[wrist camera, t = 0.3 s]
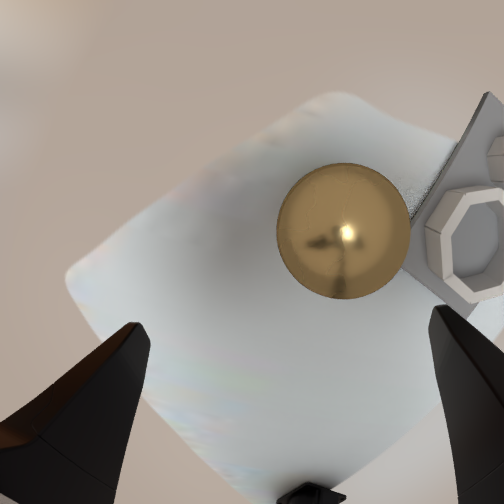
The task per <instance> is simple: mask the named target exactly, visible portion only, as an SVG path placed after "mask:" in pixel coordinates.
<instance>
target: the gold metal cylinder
mask: <svg viewBox="0 0 504 504" xmlns="http://www.w3.org/2000/svg"><path fill="white" fill-rule="evenodd" d="M276 229H277V243H278V248H279V252H280V255H281V257H282V259H283V262H284V264H285V265H286V267H287V269H288V270H289V272H290V273H291V274H292V275H293V277H294V278H295V279H296V280H297V281H298V282H299V283H301V284H302V285H303V286H305V287H306V288H308V289H309V290H311V291H313V292H315V293H317V294H320V295H322V296H325V297H329V298H334V299H354V298H359V297H363V296H366V295H368V294H371V293H373V292H375V291H377V290H378V289H380V288H381V287H383V286H384V285H386V284H387V283H388V282H389V281H390V280H391V279H392V278H393V277H394V276H395V274H396V273H397V272H398V270H399V269H400V267H401V266H402V264H403V262H404V260H405V258H406V255H407V252H408V249H409V244H410V235H411V227H410V218H409V213H408V210H407V207H406V204H405V202H404V200H403V198H402V196H401V195H400V193H399V192H398V190H397V189H396V187H395V186H394V185H393V184H392V183H391V182H390V181H389V180H388V179H387V178H385V177H384V176H383V175H381V174H380V173H378V172H377V171H375V170H373V169H370V168H368V167H365V166H362V165H358V164H352V163H337V164H330V165H326V166H323V167H320V168H318V169H315V170H314V171H312V172H310V173H308V174H307V175H305V176H304V177H303V178H301V179H300V180H299V181H298V182H297V183H296V184H295V185H294V186H293V187H292V189H291V190H290V191H289V193H288V194H287V196H286V198H285V199H284V201H283V203H282V206H281V208H280V211H279V215H278V219H277V228H276Z"/></svg>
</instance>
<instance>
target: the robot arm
mask: <svg viewBox="0 0 504 504" xmlns="http://www.w3.org/2000/svg"><path fill="white" fill-rule="evenodd" d="M428 332H429V338H430V343H431V349H432V355H433V362H434V368H435V374H436V379H437V384H438V388H439V392H440V396H441V400H442V404H443V409H444V413H445V418H446V422H447V428H448V433H449V438H450V444H451V449H452V455H453V461H454V469H455V476H456V484H457V493H458V504H504V353H503V352H502V351H501V350H500V349H499V348H498V347H497V346H495V345H494V344H493V343H492V342H491V341H490V340H489V339H488V338H486V337H485V336H484V335H483V334H482V333H481V332H479V331H478V330H477V329H476V328H475V327H474V326H472V325H471V324H470V323H469V322H468V321H467V320H465V319H464V318H463V317H462V316H461V315H459V314H458V313H457V312H456V311H455V310H453V309H452V308H451V307H450V306H448V305H446V304H444V305H437V306H435V307H434V308H433V311H432V315H431V319H430V323H429V327H428ZM150 346H151V343H150V339H149V337H148V335H147V333H146V331H145V329H144V328H143V326H142V324H141V323H139V322H129V323H127V324H126V325H125V326H123V327H122V328H121V329H120V330H118V331H117V332H116V333H115V334H113V335H112V336H111V337H110V338H108V339H107V340H106V341H105V342H103V343H102V344H101V345H100V346H98V347H97V348H96V349H95V350H94V351H92V352H91V353H90V354H88V355H87V356H86V357H85V358H84V359H82V360H81V361H80V362H79V363H77V364H76V365H75V366H74V367H73V368H71V369H70V370H69V371H68V372H66V373H65V374H64V375H63V376H62V377H60V378H59V379H58V380H57V381H55V383H54V384H52V385H51V386H49V387H48V388H47V389H46V390H44V391H43V392H42V393H41V394H39V395H38V396H37V397H36V398H34V399H33V400H32V401H30V402H29V403H27V404H26V405H25V406H23V407H22V408H20V409H19V410H18V411H16V412H15V413H13V414H12V415H10V416H9V417H8V418H6V419H5V420H3V421H2V422H0V504H113V503H114V499H115V495H116V491H115V490H116V489H117V485H118V481H119V476H120V472H121V468H122V463H123V459H124V455H125V451H126V447H127V443H128V439H129V436H130V432H131V428H132V424H133V420H134V417H135V413H136V409H137V406H138V402H139V399H140V395H141V392H142V388H143V384H144V379H145V373H146V368H147V362H148V357H149V352H150ZM344 500H346V495H343V494H340V493H337V492H334V491H331V490H329V489H326V488H323V487H320V486H317V485H315V484H312V483H305V484H303V485H301V486H300V487H298V488H297V489H295V490H293V491H292V492H290V493H288V494H287V495H285V496H283V497H282V498H280V499H278V500H277V502H276V504H339V503H341V502H343V501H344Z"/></svg>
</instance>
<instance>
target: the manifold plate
mask: <svg viewBox="0 0 504 504" xmlns="http://www.w3.org/2000/svg"><path fill="white" fill-rule="evenodd" d="M410 227H411V235H410V244H409V249H408V252H407V255H406V258H405V260H404V262H403V264H402V266H401V268H403V269H404V270H405V271H406V272H408V273H409V274H410V275H412V276H413V277H414V278H415V279H417V280H418V281H419V282H421V283H422V284H423V285H424V286H426V287H427V288H428V289H429V290H431V291H432V292H433V293H434V294H436V295H437V296H438V297H439V298H440V299H442V300H443V301H444V302H445V303H447V304H448V305H449V306H450V307H451V308H453V309H454V310H455V311H456V312H457V313H459V314H460V315H461V316H462V317H463V318H464V319H467V318H468V316H469V315H470V314H471V312H472V311H473V310H474V308H475V307H476V306H477V304H478V303H479V302H480V301H484V300H487V299H490V298H494V297H497V296H500V295H503V293H504V105H503V104H502V103H501V102H500V101H499V100H498V99H497V98H496V97H495V96H494V95H493V94H492V93H491V92H490V91H489V92H486V93H484V94H483V97H482V99H481V101H480V103H479V105H478V107H477V109H476V111H475V113H474V115H473V117H472V119H471V121H470V123H469V125H468V126H467V128H466V130H465V132H464V134H463V136H462V138H461V139H460V141H459V143H458V145H457V147H456V149H455V150H454V152H453V154H452V156H451V157H450V159H449V161H448V163H447V164H446V166H445V168H444V169H443V171H442V173H441V174H440V176H439V178H438V179H437V181H436V183H435V184H434V186H433V188H432V189H431V191H430V192H429V194H428V196H427V197H426V199H425V200H424V202H423V204H422V205H421V207H420V208H419V210H418V211H417V213H416V214H415V216H414V217H413V219H412V220H411V222H410Z"/></svg>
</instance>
